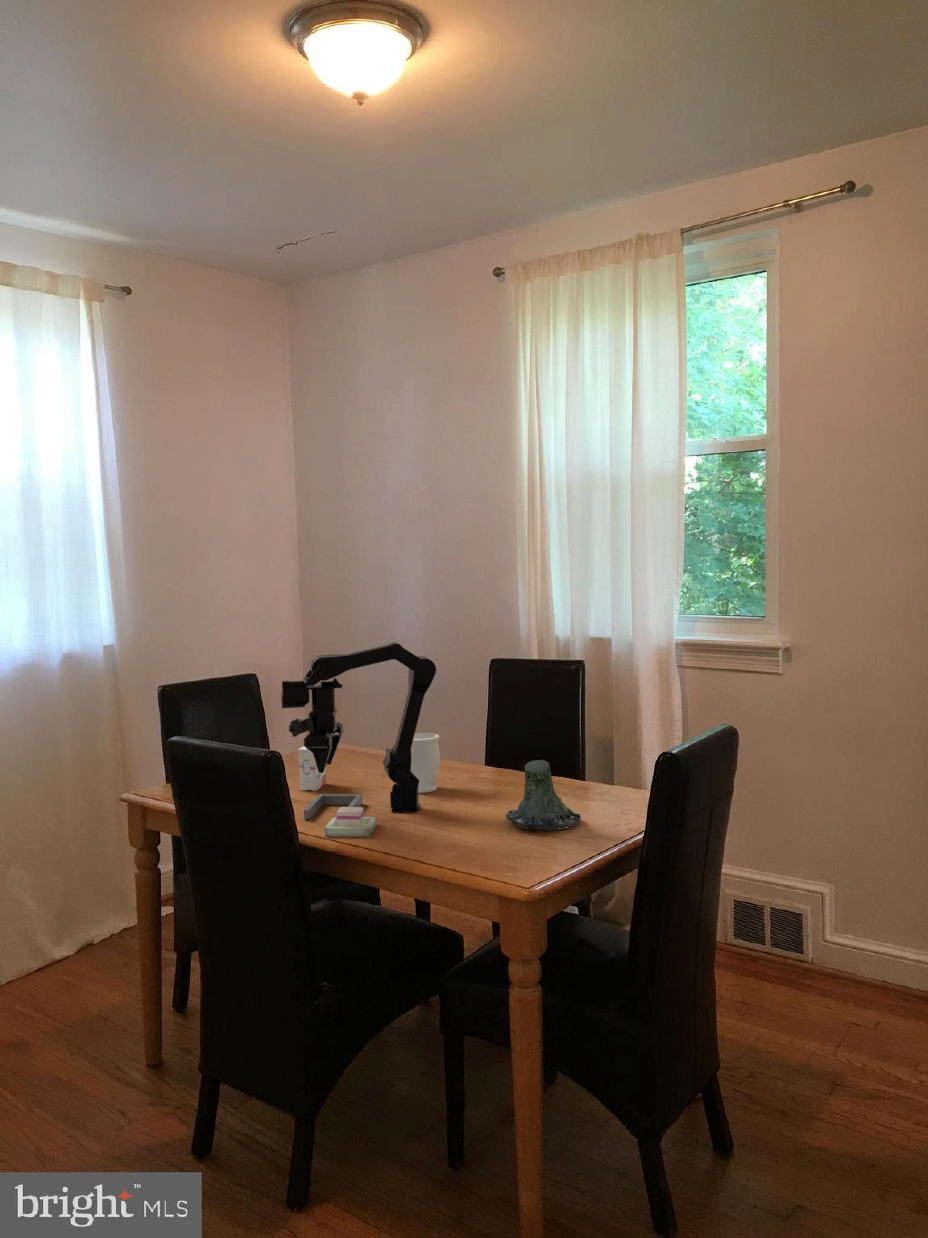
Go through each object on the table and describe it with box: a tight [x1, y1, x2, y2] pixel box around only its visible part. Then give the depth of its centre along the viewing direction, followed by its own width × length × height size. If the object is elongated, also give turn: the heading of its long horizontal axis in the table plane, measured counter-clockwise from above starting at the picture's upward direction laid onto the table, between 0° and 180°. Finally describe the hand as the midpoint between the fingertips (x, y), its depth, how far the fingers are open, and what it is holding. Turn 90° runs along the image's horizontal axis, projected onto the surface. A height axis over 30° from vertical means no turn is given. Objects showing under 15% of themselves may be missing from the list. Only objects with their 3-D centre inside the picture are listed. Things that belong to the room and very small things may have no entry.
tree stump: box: [505, 759, 582, 831], centre depth 233 cm, size 18×20×18 cm
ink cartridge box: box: [297, 746, 327, 792], centre depth 273 cm, size 9×5×15 cm, turn 168°
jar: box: [411, 732, 441, 794], centre depth 268 cm, size 11×10×15 cm
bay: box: [303, 793, 363, 821], centre depth 247 cm, size 11×15×2 cm
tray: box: [323, 816, 378, 838], centre depth 231 cm, size 10×10×2 cm
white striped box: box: [336, 806, 365, 827], centre depth 231 cm, size 6×4×4 cm
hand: (325, 768), depth 243 cm, fingers open, 9 cm apart
